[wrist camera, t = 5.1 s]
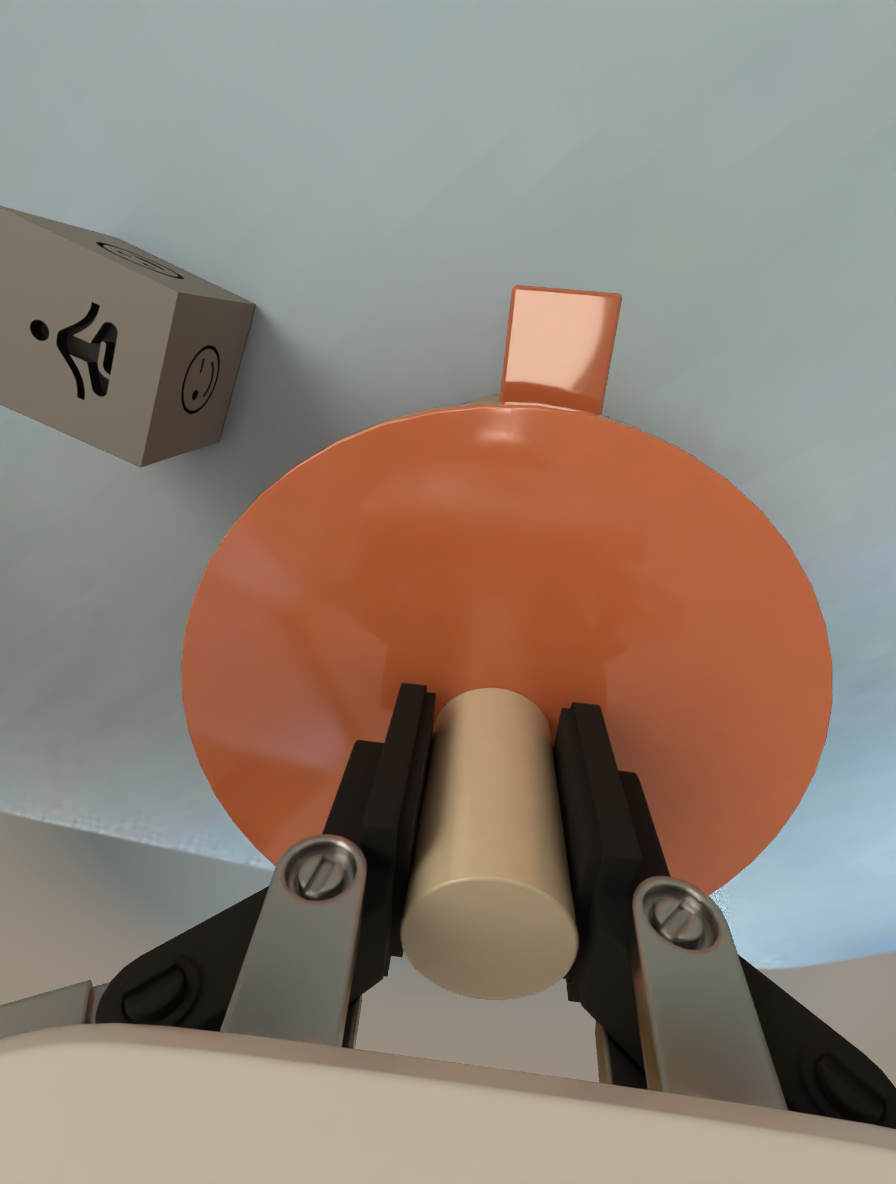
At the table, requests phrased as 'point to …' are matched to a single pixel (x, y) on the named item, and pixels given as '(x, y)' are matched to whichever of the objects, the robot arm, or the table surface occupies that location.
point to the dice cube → (114, 341)
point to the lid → (508, 661)
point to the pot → (558, 347)
